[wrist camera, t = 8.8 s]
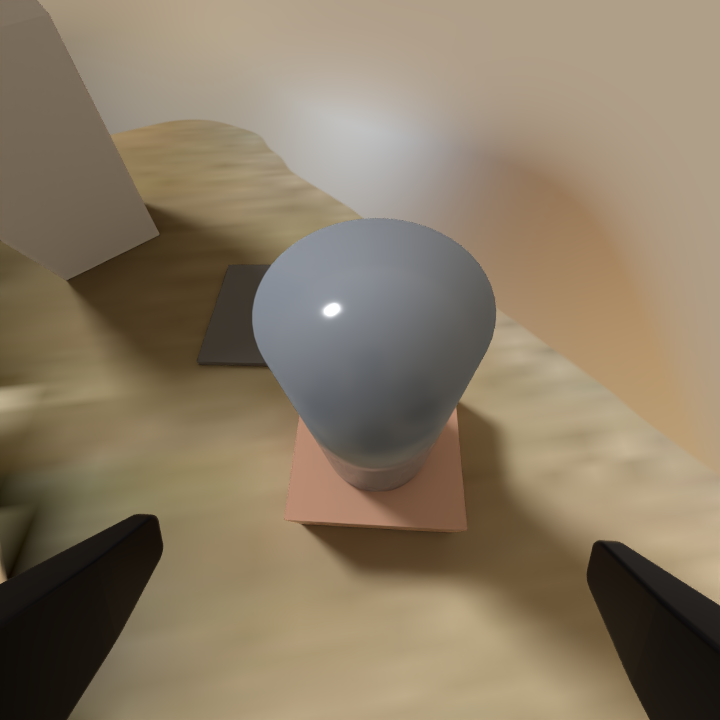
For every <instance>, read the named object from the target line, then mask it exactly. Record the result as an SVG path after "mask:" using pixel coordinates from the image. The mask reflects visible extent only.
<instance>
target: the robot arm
mask: <svg viewBox="0 0 720 720" xmlns="http://www.w3.org/2000/svg"><path fill="white" fill-rule="evenodd" d="M162 552H163V541H162V536H161V531H160V525H159V521H158V518H157V517H156V516H155V515H151V514H135V515H133V516H131V517H129V518H127V519H125V520H123V521H121V522H119V523H117V524H115V525H113V526H111V527H109V528H108V529H106V530H104V531H102V532H100V533H98V534H96V535H94V536H92V537H90V538H88V539H86V540H84V541H82V542H80V543H79V544H77V545H75V546H73V547H71V548H69V549H67V550H65V551H63V552H61V553H59V554H57V555H55V556H53V557H51V558H50V559H48V560H46V561H44V562H42V563H40V564H38V565H36V566H34V567H32V568H30V569H28V570H26V571H24V572H22V573H21V574H19V575H17V576H15V577H13V578H11V579H9V580H7V581H5V582H3V583H1V584H0V720H67V719H68V717H69V716H70V714H71V713H72V711H73V709H74V708H75V706H76V705H77V703H78V701H79V700H80V698H81V697H82V695H83V693H84V692H85V690H86V689H87V687H88V686H89V684H90V682H91V681H92V679H93V678H94V676H95V674H96V673H97V671H98V670H99V668H100V666H101V665H102V663H103V662H104V660H105V659H106V657H107V655H108V654H109V652H110V650H111V649H112V647H113V645H114V644H115V642H116V640H117V639H118V637H119V635H120V633H121V632H122V630H123V628H124V626H125V624H126V623H127V621H128V619H129V617H130V615H131V613H132V611H133V609H134V607H135V605H136V604H137V602H138V600H139V598H140V596H141V594H142V592H143V590H144V588H145V587H146V585H147V583H148V581H149V579H150V577H151V575H152V573H153V571H154V570H155V568H156V566H157V564H158V562H159V560H160V558H161V555H162ZM587 582H588V585H589V588H590V591H591V593H592V595H593V597H594V600H595V602H596V604H597V607H598V609H599V611H600V614H601V616H602V618H603V621H604V623H605V625H606V627H607V630H608V632H609V634H610V637H611V639H612V641H613V644H614V646H615V648H616V651H617V653H618V655H619V658H620V660H621V662H622V664H623V667H624V669H625V671H626V673H627V675H628V678H629V680H630V682H631V684H632V686H633V688H634V690H635V692H636V694H637V696H638V698H639V700H640V702H641V704H642V706H643V708H644V710H645V711H646V713H647V715H648V717H649V719H650V720H720V605H718V604H717V603H715V602H714V601H712V600H710V599H709V598H707V597H706V596H704V595H703V594H701V593H699V592H698V591H696V590H695V589H693V588H692V587H690V586H688V585H687V584H685V583H684V582H682V581H681V580H679V579H678V578H676V577H674V576H673V575H671V574H670V573H668V572H667V571H665V570H663V569H662V568H660V567H659V566H657V565H656V564H654V563H652V562H651V561H649V560H648V559H646V558H645V557H643V556H641V555H640V554H638V553H637V552H635V551H634V550H632V549H631V548H629V547H627V546H626V545H624V544H623V543H620V542H617V541H604V540H599V541H596V542H595V543H594V544H593V547H592V552H591V556H590V560H589V565H588V569H587Z"/></svg>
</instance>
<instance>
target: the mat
mask: <svg viewBox="0 0 720 720" xmlns="http://www.w3.org/2000/svg"><path fill="white" fill-rule="evenodd" d="M270 266H271V265H229V266H228V269H227V272H226V275H225V278H224V281H223V284H222V287H221V290H220V293H219V296H218V299H217V302H216V305H215V308H214V311H213V314H212V317H211V320H210V323H209V326H208V329H207V332H206V335H205V338H204V341H203V344H202V347H201V350H200V353H199V356H198V359H197V363H198V364H200V365H243V366H268V365H267V364H266V362H265V360H264V358H263V356H262V354H261V353H260V351H259V349H258V346H257V343H256V340H255V337H254V331H253V325H252V310H253V305H254V299H255V296H256V293H257V290H258V287H259V285H260V283H261V281H262V279H263V277H264V275H265V274H266V272H267V271H268V269H269V268H270Z"/></svg>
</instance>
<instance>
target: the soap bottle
mask: <svg viewBox="0 0 720 720" xmlns="http://www.w3.org/2000/svg"><path fill="white" fill-rule="evenodd" d="M158 235H160V234H159V232H158V230H157V228H156V226H155V224H154V222H153V220H152V218H151V216H150V214H149V212H148V210H147V208H146V206H145V204H144V202H143V200H142V198H141V196H140V194H139V192H138V190H137V188H136V186H135V184H134V182H133V180H132V178H131V176H130V174H129V172H128V170H127V168H126V166H125V164H124V162H123V160H122V158H121V156H120V154H119V152H118V150H117V148H116V146H115V144H114V142H113V140H112V138H111V136H110V134H109V132H108V130H107V129H106V127H105V124H104V122H103V120H102V119H101V117H100V114H99V112H98V111H97V109H96V107H95V104H94V103H93V101H92V99H91V97H90V95H89V93H88V91H87V89H86V87H85V85H84V83H83V81H82V79H81V77H80V75H79V73H78V71H77V69H76V67H75V65H74V63H73V61H72V59H71V57H70V55H69V53H68V51H67V49H66V47H65V45H64V43H63V41H62V39H61V37H60V35H59V33H58V31H57V29H56V27H55V25H54V23H53V21H52V19H51V17H50V15H49V13H48V12H47V11H46V10H45V9H44V8H43V6H42V5H41V4H40V3H39V2H38V1H37V0H0V241H2V242H4V243H5V244H7V245H9V246H10V247H12V248H14V249H15V250H17V251H19V252H20V253H22V254H23V255H25V256H27V257H28V258H30V259H32V260H33V261H35V262H37V263H38V264H40V265H42V266H43V267H45V268H47V269H48V270H50V271H51V272H53V273H55V274H56V275H58V276H60V277H61V278H63V279H65V280H68V279H70V278H73V277H75V276H77V275H79V274H81V273H83V272H85V271H87V270H89V269H91V268H93V267H95V266H97V265H99V264H101V263H103V262H105V261H107V260H109V259H111V258H113V257H115V256H118V255H120V254H122V253H124V252H126V251H128V250H130V249H132V248H134V247H136V246H138V245H140V244H142V243H144V242H146V241H148V240H150V239H152V238H154V237H156V236H158Z"/></svg>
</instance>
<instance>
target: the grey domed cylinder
mask: <svg viewBox="0 0 720 720" xmlns="http://www.w3.org/2000/svg"><path fill="white" fill-rule="evenodd" d="M495 322H496V305H495V298H494V294H493V291H492V287H491V284H490V282H489V280H488V278H487V276H486V274H485V272H484V271H483V269H482V268H481V266H480V265H479V263H478V262H477V261H476V260H475V259H474V257H473V256H472V255H471V254H470V253H469V252H468V251H466V250H465V249H464V248H463V247H462V246H461V245H459V244H458V243H457V242H455V241H454V240H452V239H451V238H449V237H447V236H446V235H443V234H442V233H440V232H438V231H436V230H433V229H431V228H429V227H426V226H422V225H420V224H416V223H413V222H407V221H403V220H396V219H384V218H370V219H358V220H351V221H346V222H342V223H337V224H334V225H331V226H328V227H325V228H322V229H320V230H318V231H315V232H313V233H311V234H309V235H307V236H306V237H304V238H302V239H300V240H299V241H297V242H296V243H295V244H293V245H292V246H290V247H289V248H288V249H287V250H286V251H284V252H283V253H282V254H281V255H280V256H279V257H278V258H277V259H276V260H275V262H274V263H273V264H272V265H271V266H270V268H269V269H268V271H267V272H266V274H265V275H264V277H263V279H262V281H261V283H260V285H259V287H258V290H257V293H256V296H255V299H254V305H253V310H252V325H253V331H254V337H255V340H256V343H257V346H258V349H259V351H260V353H261V354H262V356H263V358H264V360H265V362H266V364H267V365H268V367H269V368H270V370H271V371H272V373H273V375H274V376H275V378H276V379H277V381H278V382H279V384H280V386H281V387H282V389H283V390H284V392H285V393H286V395H287V397H288V398H289V400H290V401H291V403H292V404H293V406H294V408H295V409H296V411H297V412H298V414H299V415H300V417H301V419H302V420H303V422H304V423H305V425H306V426H307V428H308V430H309V431H310V433H311V434H312V436H313V437H314V439H315V441H316V442H317V444H318V445H319V447H320V448H321V450H322V452H323V453H324V455H325V456H326V458H327V459H328V461H329V463H330V464H331V466H332V467H333V469H334V470H335V471H336V473H337V474H338V475H339V476H340V477H341V478H342V479H343V480H345V481H346V482H347V483H349V484H351V485H352V486H354V487H357V488H359V489H362V490H366V491H372V492H384V491H390V490H393V489H396V488H399V487H401V486H403V485H405V484H406V483H408V482H409V481H411V480H412V479H413V478H414V477H415V476H416V475H417V474H418V472H419V471H420V470H421V468H422V467H423V465H424V463H425V462H426V460H427V458H428V456H429V454H430V453H431V451H432V449H433V447H434V445H435V444H436V442H437V440H438V438H439V436H440V435H441V433H442V431H443V429H444V427H445V425H446V424H447V422H448V420H449V418H450V416H451V415H452V413H453V411H454V409H455V407H456V406H457V404H458V402H459V400H460V398H461V397H462V395H463V393H464V391H465V389H466V388H467V386H468V384H469V382H470V380H471V379H472V377H473V375H474V373H475V371H476V369H477V368H478V366H479V364H480V362H481V360H482V359H483V357H484V355H485V353H486V351H487V349H488V347H489V344H490V342H491V340H492V337H493V332H494V328H495Z"/></svg>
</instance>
